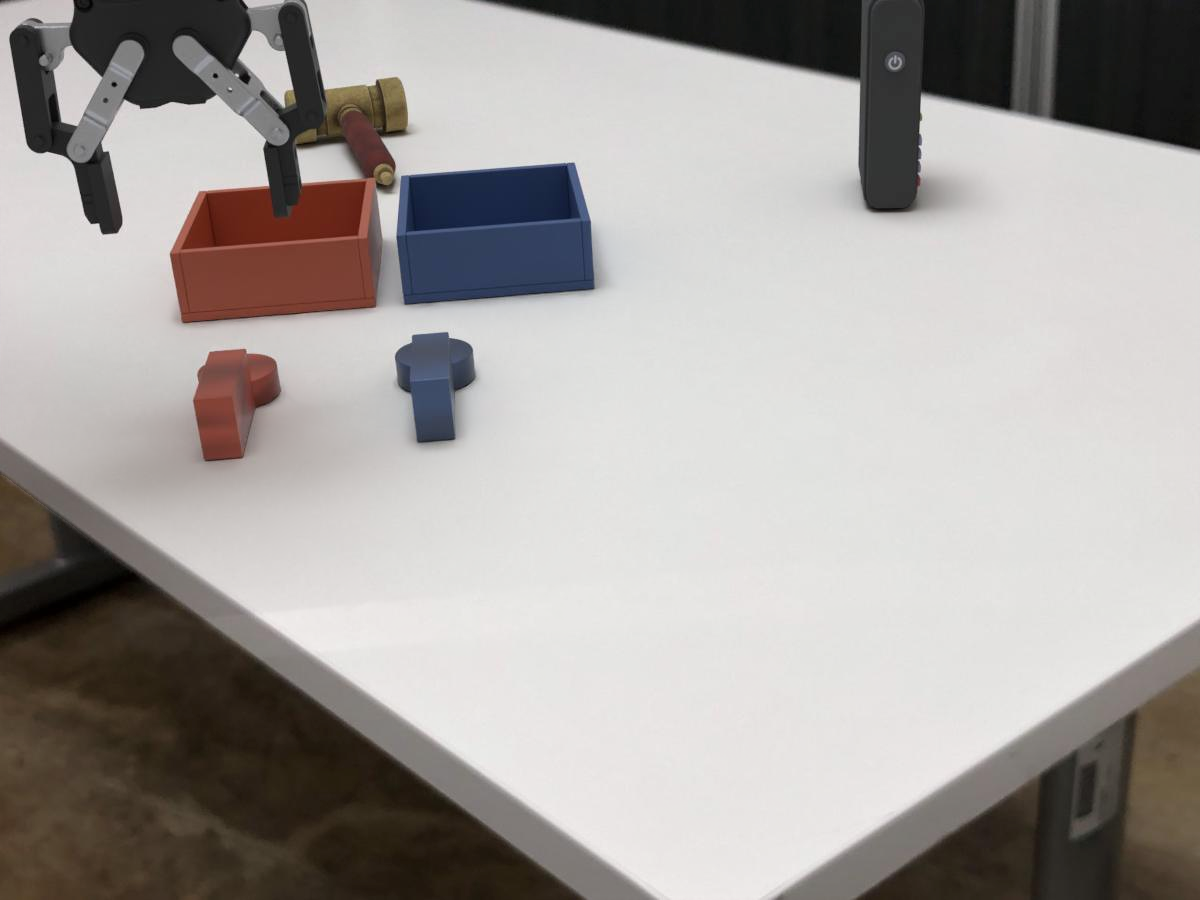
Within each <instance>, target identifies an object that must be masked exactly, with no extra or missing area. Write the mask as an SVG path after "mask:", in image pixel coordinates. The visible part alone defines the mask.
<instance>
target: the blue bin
mask: <svg viewBox="0 0 1200 900" xmlns="http://www.w3.org/2000/svg"><path fill="white" fill-rule="evenodd" d="M398 198H399V200H398V209H397V221H396V222H397V223H396V235H395V237H396V247H397V255H398V262H399V271H400V280H401V288H402V289H401V290H402V297H403V298H402V299H403V304H404V305H408V304H409V305H410V304H421V303H422V304H423V303H433V302H435V303H436V302H446V301H458V300H469V299H483V298H494V297H507V296H519V295H520V296H521V295H531V294H532V295H533V294H543V293H555V292H567V291H581V290H593V289H595V287H596V286H595V272H594V271H595V270H594V269H595V268H594V254H593V238H592V237H593V235H592V220H591V217H590V213H589V210H588V205H587V202H586V198H585V195H584V190H583V187H582V184H581V181H580V177H579V173H578V170H577V166H576V162H573V161H572V162H561V163H560V162H559V163H558V162H557V163H548V164H546V163H545V164H535V165H533V164H532V165H520V166H509V167H506V166H505V167H495V168H481V169H469V170H456V171H455V170H454V171H444V172H428V173H419V174H418V173H417V174H416V173H415V174H410V175H409V174H404V175H401V176H400V185H399V197H398Z"/></svg>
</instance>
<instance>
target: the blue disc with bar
mask: <svg viewBox="0 0 1200 900" xmlns="http://www.w3.org/2000/svg"><path fill="white" fill-rule="evenodd" d="M394 361H395V370H396V379H397V384H398V385H399V387H400V388H402V390H403V389H404V390H405V391H407V392H410V393H411V402H412V411H413V420H414V429H415V436H416V442H417V443H419V442H432V441H444V440H454V439H456V410H455V409H456V408H455V405H456V403H455V399H456V398H455V391H456V390H459V389H461V388H463V387H465V386H467V385H469V384H470V383H472V382H473V381H474V379H475V377H476V368H475V367H476V366H475V357H474V349H473V346H472V345H471V344H470V343H469V342H467V341H465V340H462V339H459V338H454V337H450V334H449V331H442V332H429V333H417V334H412V335H411V342H409V343H407V344H405V345H403V346H401V347H400V348H399V349H398V350H397V351H396V352H395V354H394Z"/></svg>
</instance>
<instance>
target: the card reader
mask: <svg viewBox="0 0 1200 900" xmlns="http://www.w3.org/2000/svg"><path fill="white" fill-rule="evenodd" d="M925 13H926V7H925V2H924V0H861V24H860V25H861V27H860V29H861V30H860V32H861V33H860V68H859V69H860V72H859V73H860V74H859V75H860V76H859V112H858V113H859V117H858V122H859V123H858V159H857V160H858V161H857V163H858V164H857V165H858V172H859V178H860V184H861V189H862V195H863V200H864V201H865V203H866V205H868V206H869V207H870V208H873V209H904V208H905V209H906V208H907V207H909V206H911V205H912V204H913V203H914V202H915V200H916V199H917V194H918V187H920V186H921V177H920V174H919V173H921V172H922V165H921V164H922V163H921V161H920V160H922V155H923V154H922V150H921V149H922V148H921V147H920V146H922V145H923V137H922V134H921V133H920V131H921V130H920V128H921V122H922V121H923V114H922V112H921V103H922V83H923V81H922V80H923V59H924V58H923V57H924V32H925Z"/></svg>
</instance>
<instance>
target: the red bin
mask: <svg viewBox="0 0 1200 900" xmlns="http://www.w3.org/2000/svg"><path fill="white" fill-rule="evenodd" d="M381 224H382V223H381V215H380V208H379V199H378V189H377V183H376V181H375V178H368V177H366V178H353V179H339V180H327V181H314V182H302V190H301V194H300V198H299V202H298V205H292V210H291V213H290V217H287V218H276V219H275V217H274V212H273V206H272V200H271V194H270V188H269V185H263V186H262V185H261V186H249V187H238V188H237V187H236V188H221V189H212V190H211V189H209V190H199V191H198V192H197V195H196V197H195V199H194V201H193V203H192V205H191V208H190V210H189V211H188V213H187V215H186V218H185V220H184V222H183V225H182V227H181V229H180V231H179V233H178V234H177V237H176V240H175V241H174V244H173V245H172V248H171V250H170V252H169V258H170V263H171V269H172V274H173V275H172V276H173V280H174V286H175V290H176V296H177V301H178V307H179V312H180V318H181V319H180V320H181V322H182V323H190V322H202V321H214V320H226V319H238V318H240V319H241V318H252V317H263V316H275V315H288V314H298V313H299V314H300V313H311V312H312V313H313V312H324V311H336V310H349V309H360V308H361V309H362V308H373V307H376V306H377V297H378V287H379V276H380V267H381V259H382V258H381V257H382V249H383V248H382V247H383V240H384V239H383V233H382V232H383V231H382V225H381Z"/></svg>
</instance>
